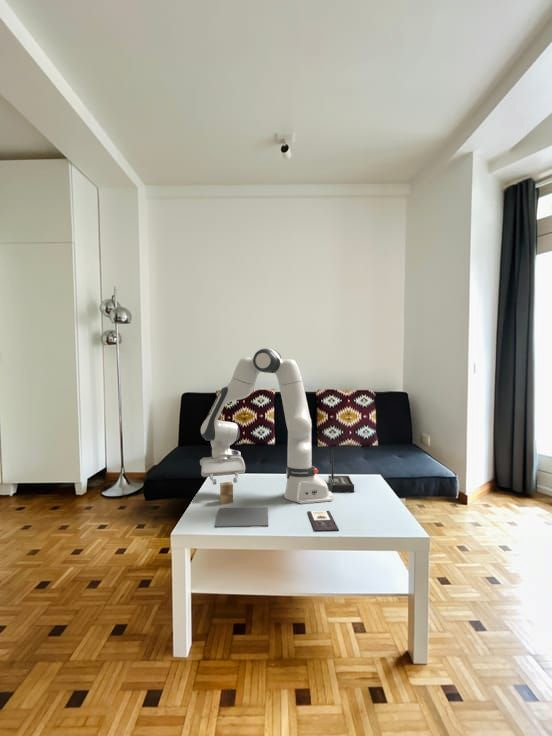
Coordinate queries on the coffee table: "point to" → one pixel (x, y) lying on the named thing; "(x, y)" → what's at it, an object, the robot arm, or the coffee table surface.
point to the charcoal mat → (242, 517)
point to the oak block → (226, 492)
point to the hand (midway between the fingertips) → (225, 483)
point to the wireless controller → (339, 481)
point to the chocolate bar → (322, 521)
